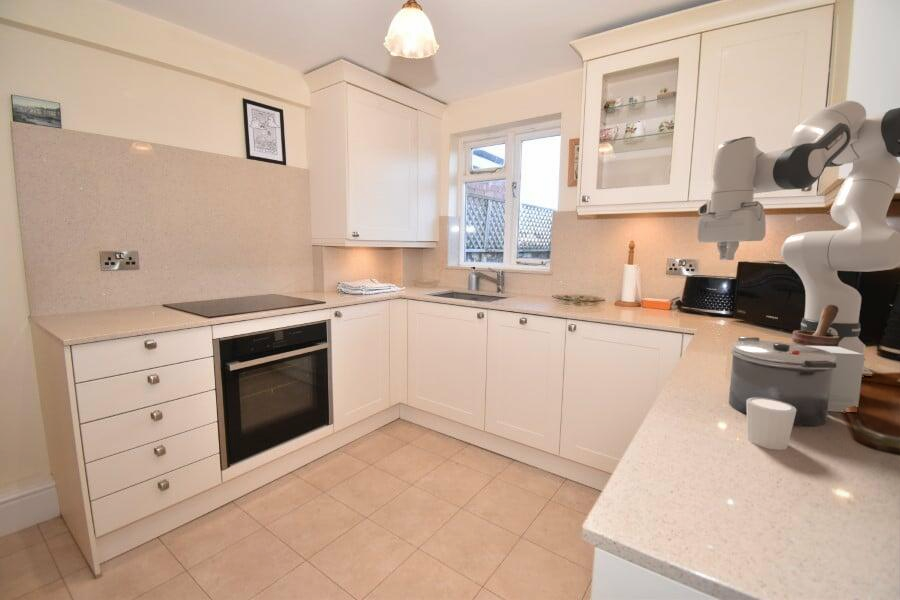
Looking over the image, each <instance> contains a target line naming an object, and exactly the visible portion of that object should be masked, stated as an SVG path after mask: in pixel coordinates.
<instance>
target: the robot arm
mask: <svg viewBox="0 0 900 600" xmlns="http://www.w3.org/2000/svg"><path fill="white" fill-rule="evenodd" d="M790 144H791V147H787V148H783V149H778V150H774V151H769V152H764V151H762V150H760V149H759V148H758V147H757V141H756V137H754V136H743V137H739V138H734V139H731V140H726V141H724V142H722V143H720V144H719V146H718V147H717V150H716V152H715V157H714V162H713V169H712V179H713V187H712V191H711V192H710V193H711V195H710V199H708V200H707V201H706V202H705V203H703V204H702V205H700V206H699V207H698V211H697V212H698V213H697V214H698V216H699V215H700V217H698V218H699V219H698V223H697V240H698V242H699V243H716V247H717V249H718V250H717V251H718V252H719V258H718V259H719V260H720V261H734V259H735V253H736V251H737V250H738V248H739V247H740V243H741V242H762V241H763V240H764V238H766V231H767V230H766V229H767V227H766V225H767V223H766V214H765V211H764V205H763V204H762V203H761V202H760V201H758V200H754V197H755V196H754V195H755V194H759V193H761V194H762V193H768V192H769V193H771V192H777V191H786V190H804V189H807V188H809V187H811V186H813V185H814V184H815V183H816V182H817V181H818V179H819V178H820V177H821V176H822V174H823V173H824V170H825V169H826V168H833V167H840V166H844V165H847V164H852V169H851V171H850V172H849V173H848V175H846V178H845V179H844V181H843V182H842V185H841V187H840V189H839V190H838V193H837V195H836V197H835V199H834V201H833V203H832V205H831V208H830V216H831V217H830V218H832V220H833V221H834V222H835V223H837V224H838V225H840V226H842V227H843V228H844V229H839V230H836V229H835V230H814V231H806V232H800V233H796V234H792V235H790V236H789V237H787V238H786V239H785V240H784V241H783V243H782V245H781V248H780V249H781V250H780V255H781V259H782V261H783V262H784V264H786V265H787V266H788V267H789V268H791V269H792V270H794V272H795V273H796V274H797V275H798V276H799V278H800V280H801V282H802V285H803V287H804V290H805V291H804V292H805V293H804V294H805V301H804V302H805V305H804V306H805V307H804V317H802V319H801V322H800V330H804V331H816V330H817V327H818V324H819V321H820V317H821V313H822V310H823V308H824V307H825V306H826V305H835V306H837V307H838V313H837V315H836V317H835V319H834V321H833V322H832V323H831V325H830V327H829V329H828V333H829V334H833V335H837V336H839V344H838V347H841V348H844V349H848V350H851V351H854V352H858V353H861V354H864V362H863V370H862V373H869V374H873V375H874V373H873V371H871V370H870V369H869V368H867V367H866V366H865V361H866V359H865V356H866V344H864V343H863V341H861V340H860V338H859V336H860V332H861V323H860V314H861V313H860V311H861V307H862V306H861V305H862V295H861V293H860V292H859V291H858V290H857V289H856V288H855V287H853V286H851V285H848V284H846V283H844V282H843V281H841V279H840V278H839V276H838V271H841V272H844V271H845V272H865V273H866V272H867V273H868V272H877V271H878V272H879V271H887V270H894V269H896V268H897V267H899V266H900V232H899V231H897V230H895V229H894V228H892V227H891V226H890V225H889V224H888V222H887V213H888V210H889V207H890V205H891V202H892V200H893V198H894V196H895V193H896V190H897V188H898V185H899V181H900V161H899V160H898V159H897V158H900V107H896V108H891V109H889V110H888V111H886V112H880V113H876V114H873V115H870V116H867V110H866V108H865V106H863V104H861V103H860V102H858V101H854V100H844V101H840V102H836V103H832V104H830V105H828V106H825V107H823V108H822V109H820V110H818V111H817V112H814V113H813V114H811V115H810V116H808V117H807V118H805V119H804V120H803V121H801V122H800V123H799V124H798V125H796V127H795V128H794V129H793V131H792V134H791V136H790Z"/></svg>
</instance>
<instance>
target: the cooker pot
mask: <svg viewBox="0 0 900 600" xmlns="http://www.w3.org/2000/svg"><path fill="white" fill-rule="evenodd" d="M731 355H732V361H731V362H732V363H731V371H730V372H731V373H730V385H729V392H728V393H729V394H728V395H729V397H728V403H729V405H730V406H731V408H733V409H734V410H737V412H739V413H742V414H744V415H745V416H747V402H746V400H747V399H749V398H767V399H773V400H777V401H781V402H784V403H787V404H790V405H792V406H794V407H795V408H796V414H795V419H794V423H793V427H804V428H805V427H807V428H808V427H818V426H823V425H824V424H826V423H827V417H828V411H827V410H828V402H829V394H830V386H831V377H832V369H833V368H814V367H811V366H807V365H796V364H786V363H779V362H772V361H767V360H761V359H757V358H752V357H749V356H745V355H742V354H739V353H737V352H735V351H733V350H732V349H731Z"/></svg>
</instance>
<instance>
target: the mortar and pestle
mask: <svg viewBox="0 0 900 600" xmlns="http://www.w3.org/2000/svg"><path fill="white" fill-rule="evenodd" d="M837 313H838V307H837V306H835V305H826V306H825V307H824V308H823V310H822V313H821V317H820V321H819V324H818V327H817V330H816V331H804V330H801V329H799V330H798V329H797V330H793V331H792V338H791V340H792V342H791V344H797V345H803V346H835V347H838V344H839V336H837V335H833V334H829V333H828V329H829V327H830V325H831V323H832V322H833V321H834V319H835V317H836V315H837Z"/></svg>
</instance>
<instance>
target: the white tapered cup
mask: <svg viewBox="0 0 900 600" xmlns="http://www.w3.org/2000/svg"><path fill="white" fill-rule="evenodd" d="M746 402H747V415H746V436H747V441H750V442H751V443H752V444H754V445H756V446H759V447H762V448H766V449H769V450H770V449H771V450H774V451H775V450H777V451H778V450H780V451H782V450H786V449H787V448H788V447H789V443H790V438H791V435H792V430H793V427H794V426H793V423H794V419H795V414H796V408H795V407H794V406H792V405H790V404H787V403H784V402H781V401H777V400H773V399H767V398H749V399H747V400H746Z"/></svg>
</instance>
